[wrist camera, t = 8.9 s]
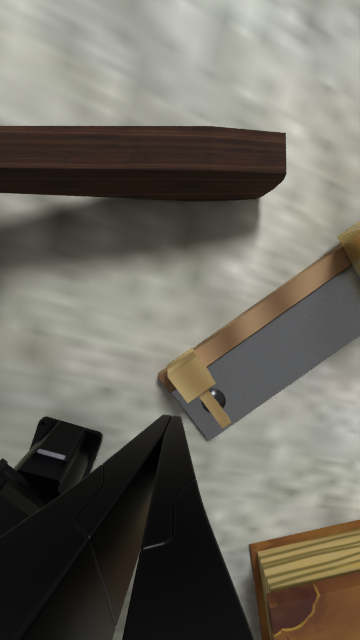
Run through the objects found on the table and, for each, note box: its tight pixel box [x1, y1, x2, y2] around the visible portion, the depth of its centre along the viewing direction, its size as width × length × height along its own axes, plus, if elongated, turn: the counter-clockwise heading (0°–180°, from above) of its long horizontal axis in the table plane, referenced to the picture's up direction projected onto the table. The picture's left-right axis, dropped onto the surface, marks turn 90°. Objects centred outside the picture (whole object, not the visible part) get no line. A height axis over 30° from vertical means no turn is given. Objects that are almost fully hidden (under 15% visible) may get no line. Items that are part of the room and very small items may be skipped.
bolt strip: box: [172, 264, 360, 440], centre depth 22 cm, size 27×7×1 cm, turn 125°
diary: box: [249, 520, 360, 640], centre depth 25 cm, size 23×19×6 cm
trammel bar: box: [158, 244, 352, 428], centre depth 20 cm, size 27×8×4 cm, turn 125°
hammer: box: [0, 126, 286, 201], centre depth 16 cm, size 5×11×30 cm
